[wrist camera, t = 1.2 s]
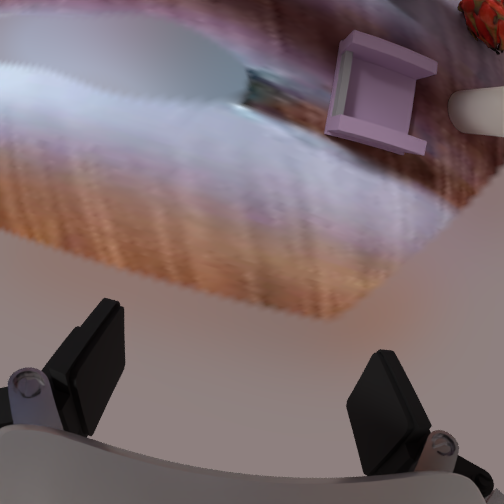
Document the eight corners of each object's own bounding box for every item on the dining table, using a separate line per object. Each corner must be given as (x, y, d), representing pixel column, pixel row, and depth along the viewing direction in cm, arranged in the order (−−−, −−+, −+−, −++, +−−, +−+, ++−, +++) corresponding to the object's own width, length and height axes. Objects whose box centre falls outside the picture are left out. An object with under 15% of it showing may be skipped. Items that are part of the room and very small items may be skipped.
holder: (339, 42, 29) (354, 26, 24) (413, 67, 30) (437, 58, 24) (324, 133, 34) (337, 133, 28) (399, 154, 34) (423, 159, 28)
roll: (450, 84, 30) (496, 77, 21) (481, 100, 30) (528, 99, 21) (445, 124, 32) (492, 126, 23) (476, 139, 33) (523, 146, 23)
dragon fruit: (460, -12, 25) (472, 54, 31) (442, -30, 21) (458, 46, 27) (507, -10, 18) (520, 61, 24) (497, -29, 15) (515, 53, 20)
